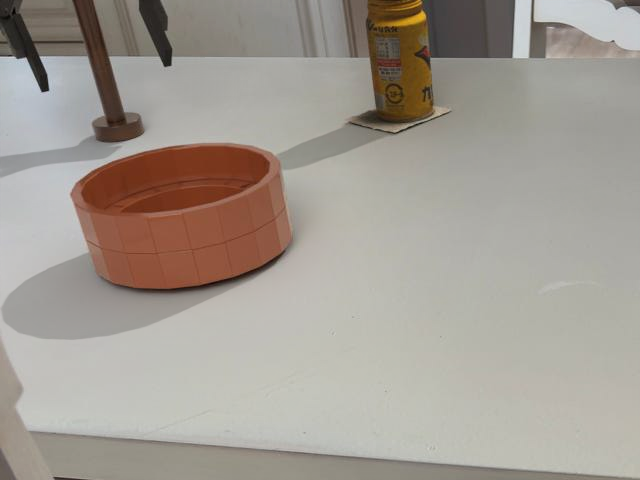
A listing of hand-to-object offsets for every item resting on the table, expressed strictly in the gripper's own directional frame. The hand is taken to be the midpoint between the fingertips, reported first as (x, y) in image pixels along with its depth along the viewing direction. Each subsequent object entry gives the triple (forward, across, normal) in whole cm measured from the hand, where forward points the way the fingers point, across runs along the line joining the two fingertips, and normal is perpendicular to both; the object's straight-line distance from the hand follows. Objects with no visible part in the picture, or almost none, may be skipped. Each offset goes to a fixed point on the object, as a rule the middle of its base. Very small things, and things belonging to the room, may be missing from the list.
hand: (107, 70), depth 100 cm
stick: (+3, 0, -7) cm, 7 cm away
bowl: (+28, +4, +19) cm, 34 cm away
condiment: (+14, -25, +4) cm, 29 cm away
